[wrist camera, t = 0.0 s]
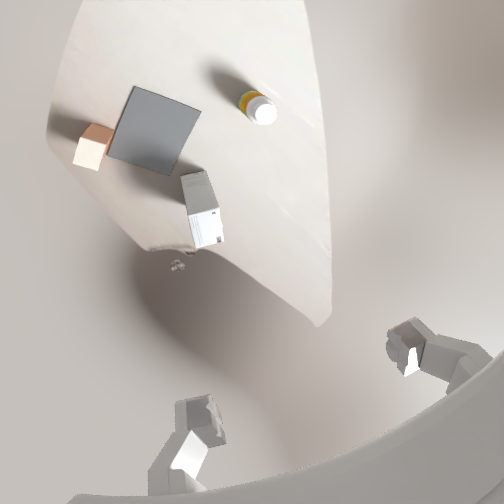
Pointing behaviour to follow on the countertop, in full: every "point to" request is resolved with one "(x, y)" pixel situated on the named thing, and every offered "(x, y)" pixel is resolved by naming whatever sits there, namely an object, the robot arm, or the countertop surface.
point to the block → (93, 146)
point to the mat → (152, 131)
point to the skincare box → (202, 209)
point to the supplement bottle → (257, 107)
